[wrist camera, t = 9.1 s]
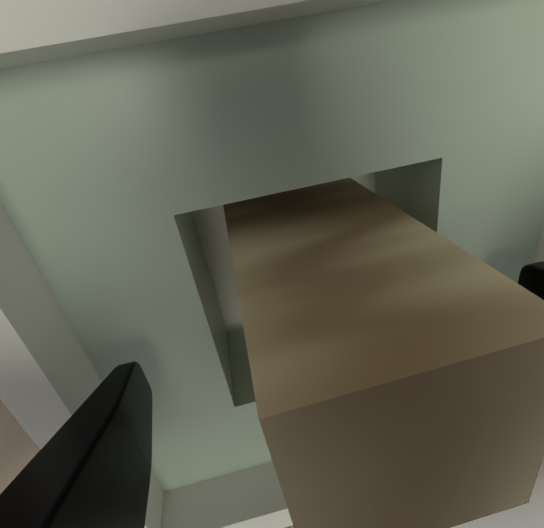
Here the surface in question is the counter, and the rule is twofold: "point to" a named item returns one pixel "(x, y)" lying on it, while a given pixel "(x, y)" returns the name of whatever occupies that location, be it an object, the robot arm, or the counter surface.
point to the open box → (232, 192)
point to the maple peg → (385, 362)
